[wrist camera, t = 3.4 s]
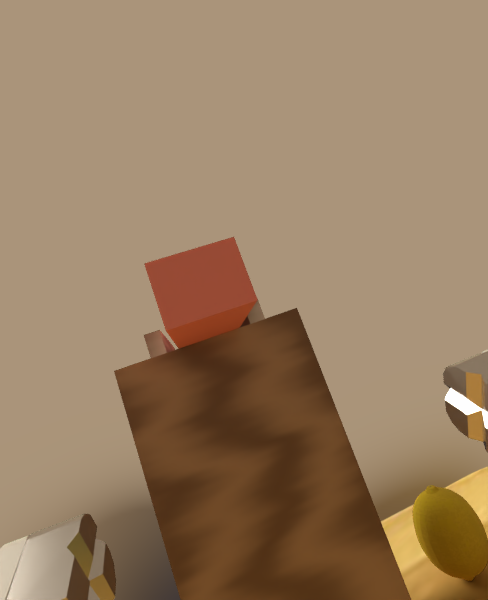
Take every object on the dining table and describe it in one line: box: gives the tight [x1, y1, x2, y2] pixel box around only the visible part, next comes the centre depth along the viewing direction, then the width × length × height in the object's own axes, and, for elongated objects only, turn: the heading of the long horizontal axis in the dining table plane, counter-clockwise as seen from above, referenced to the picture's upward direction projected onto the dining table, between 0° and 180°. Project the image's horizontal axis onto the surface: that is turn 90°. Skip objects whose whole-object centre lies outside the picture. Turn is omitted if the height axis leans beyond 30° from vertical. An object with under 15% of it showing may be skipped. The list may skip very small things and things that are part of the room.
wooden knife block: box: [114, 299, 411, 600], centre depth 27 cm, size 12×12×28 cm
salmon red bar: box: [145, 237, 257, 349], centre depth 26 cm, size 4×22×3 cm, turn 7°
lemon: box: [413, 485, 488, 581], centre depth 32 cm, size 6×6×8 cm
